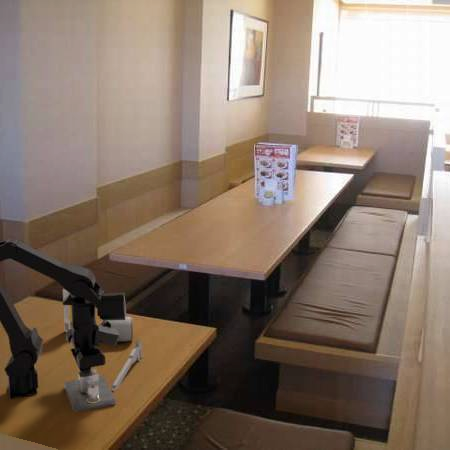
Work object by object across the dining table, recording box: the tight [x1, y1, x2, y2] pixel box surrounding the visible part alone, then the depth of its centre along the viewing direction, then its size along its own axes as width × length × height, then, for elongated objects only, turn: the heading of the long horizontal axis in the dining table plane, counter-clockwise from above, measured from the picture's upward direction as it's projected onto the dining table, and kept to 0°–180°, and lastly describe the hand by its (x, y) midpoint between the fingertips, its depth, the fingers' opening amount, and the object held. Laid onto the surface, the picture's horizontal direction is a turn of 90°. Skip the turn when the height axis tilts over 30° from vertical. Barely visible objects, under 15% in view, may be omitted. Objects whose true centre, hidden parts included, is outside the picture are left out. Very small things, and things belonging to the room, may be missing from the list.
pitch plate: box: [63, 375, 116, 413], centre depth 158 cm, size 10×13×5 cm
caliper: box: [110, 339, 143, 392], centre depth 170 cm, size 20×1×6 cm, turn 168°
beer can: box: [62, 287, 72, 332], centre depth 196 cm, size 6×6×15 cm
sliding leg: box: [77, 368, 100, 392], centre depth 158 cm, size 4×3×4 cm
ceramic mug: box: [107, 316, 134, 343], centre depth 192 cm, size 11×8×8 cm
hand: (86, 378), depth 161 cm, fingers closed
